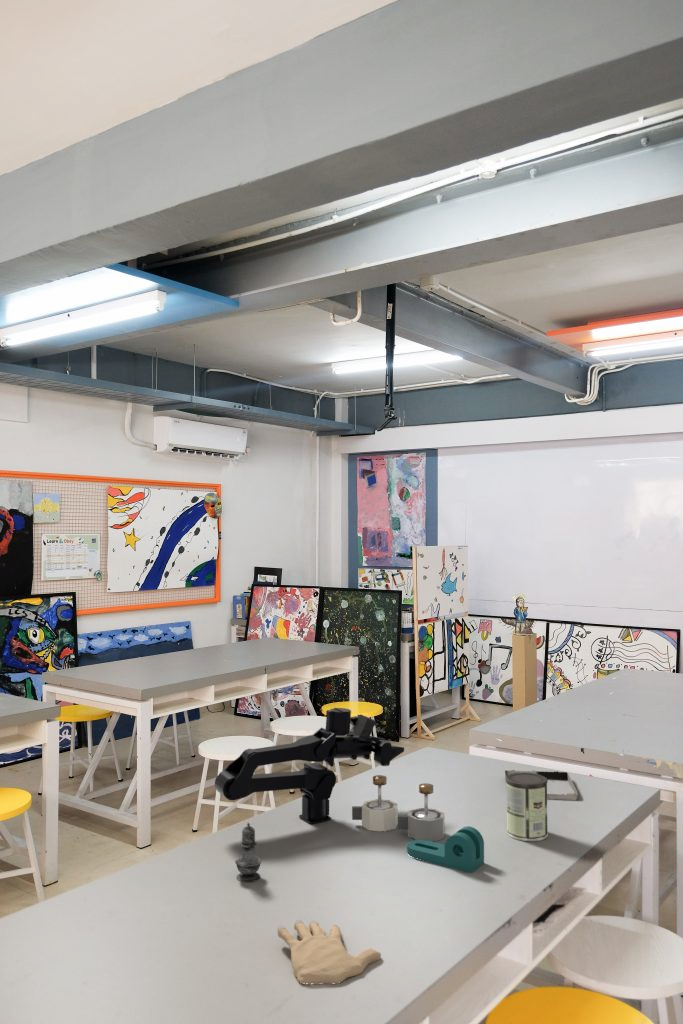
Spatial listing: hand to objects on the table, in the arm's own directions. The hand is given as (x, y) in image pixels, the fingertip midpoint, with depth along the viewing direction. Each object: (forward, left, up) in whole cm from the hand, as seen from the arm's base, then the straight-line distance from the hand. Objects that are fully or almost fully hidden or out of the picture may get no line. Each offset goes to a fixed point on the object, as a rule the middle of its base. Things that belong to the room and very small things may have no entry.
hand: (394, 745), depth 233 cm
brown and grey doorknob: (-13, -12, -12) cm, 21 cm away
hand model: (-58, -61, -17) cm, 86 cm away
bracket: (-13, -38, -17) cm, 43 cm away
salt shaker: (-56, -23, -17) cm, 63 cm away
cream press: (-13, -12, -16) cm, 24 cm away
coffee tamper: (-7, -24, -12) cm, 27 cm away
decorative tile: (+45, -12, -17) cm, 49 cm away
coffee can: (+15, -37, -17) cm, 43 cm away
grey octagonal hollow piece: (-7, -24, -16) cm, 30 cm away
